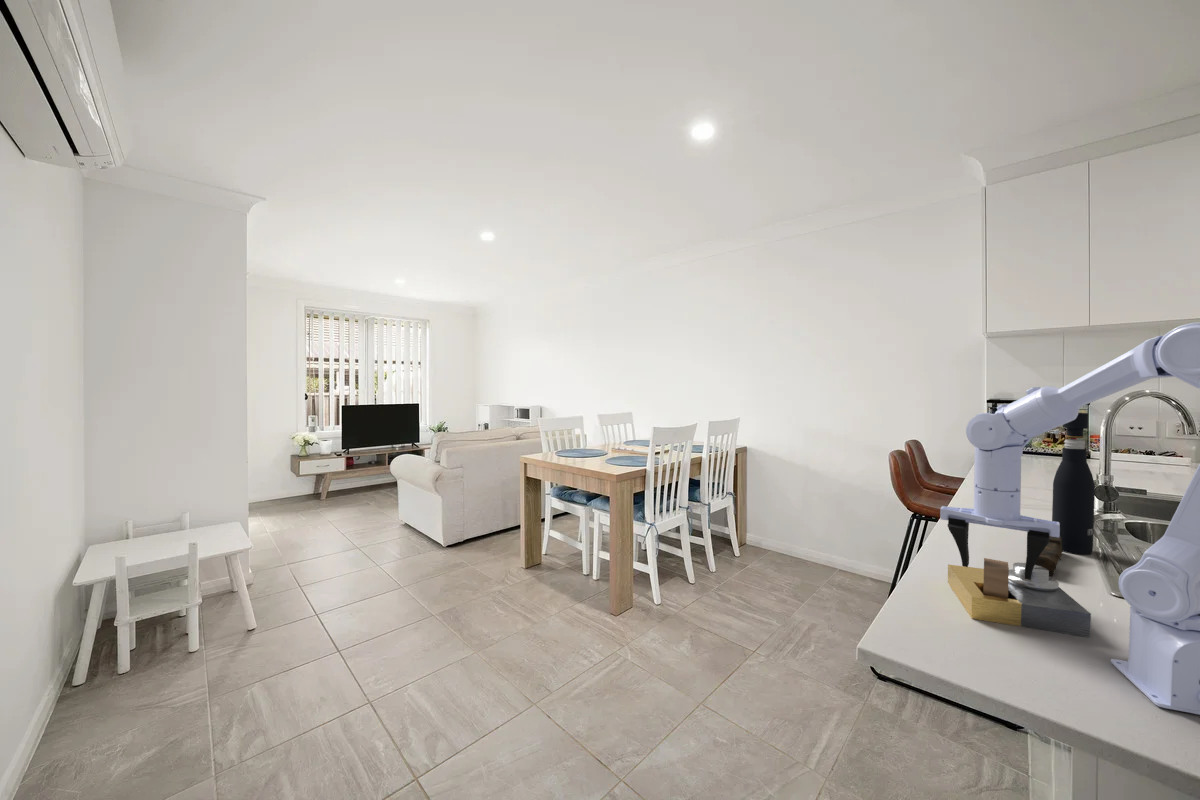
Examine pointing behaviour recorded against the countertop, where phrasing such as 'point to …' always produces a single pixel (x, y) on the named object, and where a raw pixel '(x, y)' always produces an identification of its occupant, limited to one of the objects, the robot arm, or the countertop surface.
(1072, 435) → the wine bottle
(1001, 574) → the wedge
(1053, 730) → the countertop surface
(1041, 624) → the slotted base block
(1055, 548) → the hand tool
